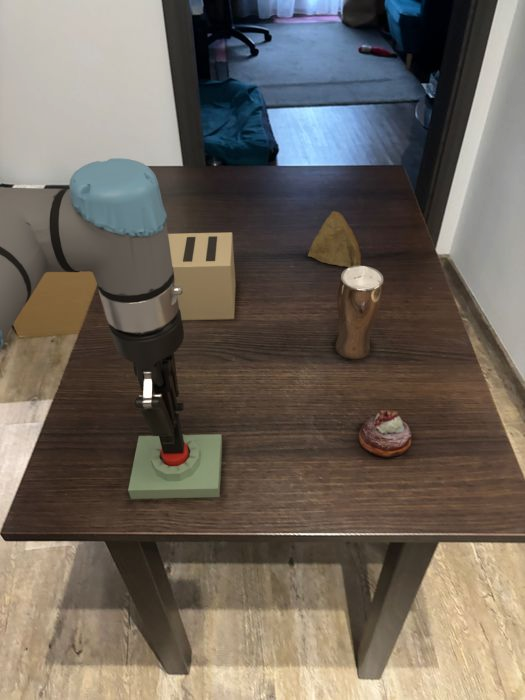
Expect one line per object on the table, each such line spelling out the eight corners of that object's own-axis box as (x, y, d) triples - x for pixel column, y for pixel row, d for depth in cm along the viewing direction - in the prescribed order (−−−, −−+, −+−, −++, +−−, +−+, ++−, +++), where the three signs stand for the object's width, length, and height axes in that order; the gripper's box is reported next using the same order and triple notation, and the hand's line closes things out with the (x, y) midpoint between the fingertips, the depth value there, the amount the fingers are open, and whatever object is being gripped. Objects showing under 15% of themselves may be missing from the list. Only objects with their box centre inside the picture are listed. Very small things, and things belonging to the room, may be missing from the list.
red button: (161, 468, 71) (159, 461, 70) (164, 446, 74) (162, 439, 73) (187, 468, 71) (186, 460, 70) (190, 446, 74) (188, 438, 72)
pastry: (393, 413, 81) (399, 391, 78) (422, 450, 76) (429, 428, 73) (348, 429, 79) (351, 407, 76) (374, 468, 74) (379, 447, 71)
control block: (131, 499, 71) (125, 482, 69) (141, 445, 78) (136, 428, 75) (219, 497, 71) (217, 480, 68) (222, 443, 78) (220, 426, 75)
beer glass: (329, 358, 90) (336, 287, 80) (335, 331, 95) (342, 262, 85) (370, 364, 89) (383, 293, 79) (374, 337, 94) (386, 267, 84)
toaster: (148, 321, 99) (137, 267, 90) (156, 286, 107) (146, 233, 98) (234, 319, 98) (230, 265, 90) (235, 284, 107) (232, 231, 98)
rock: (376, 255, 109) (351, 228, 114) (361, 235, 102) (335, 206, 108) (336, 290, 111) (313, 261, 117) (318, 272, 104) (295, 242, 110)
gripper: (172, 356, 50) (197, 490, 66) (185, 276, 60) (204, 411, 76) (94, 357, 50) (138, 491, 66) (119, 277, 60) (152, 412, 76)
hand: (173, 448), depth 71 cm, fingers closed
